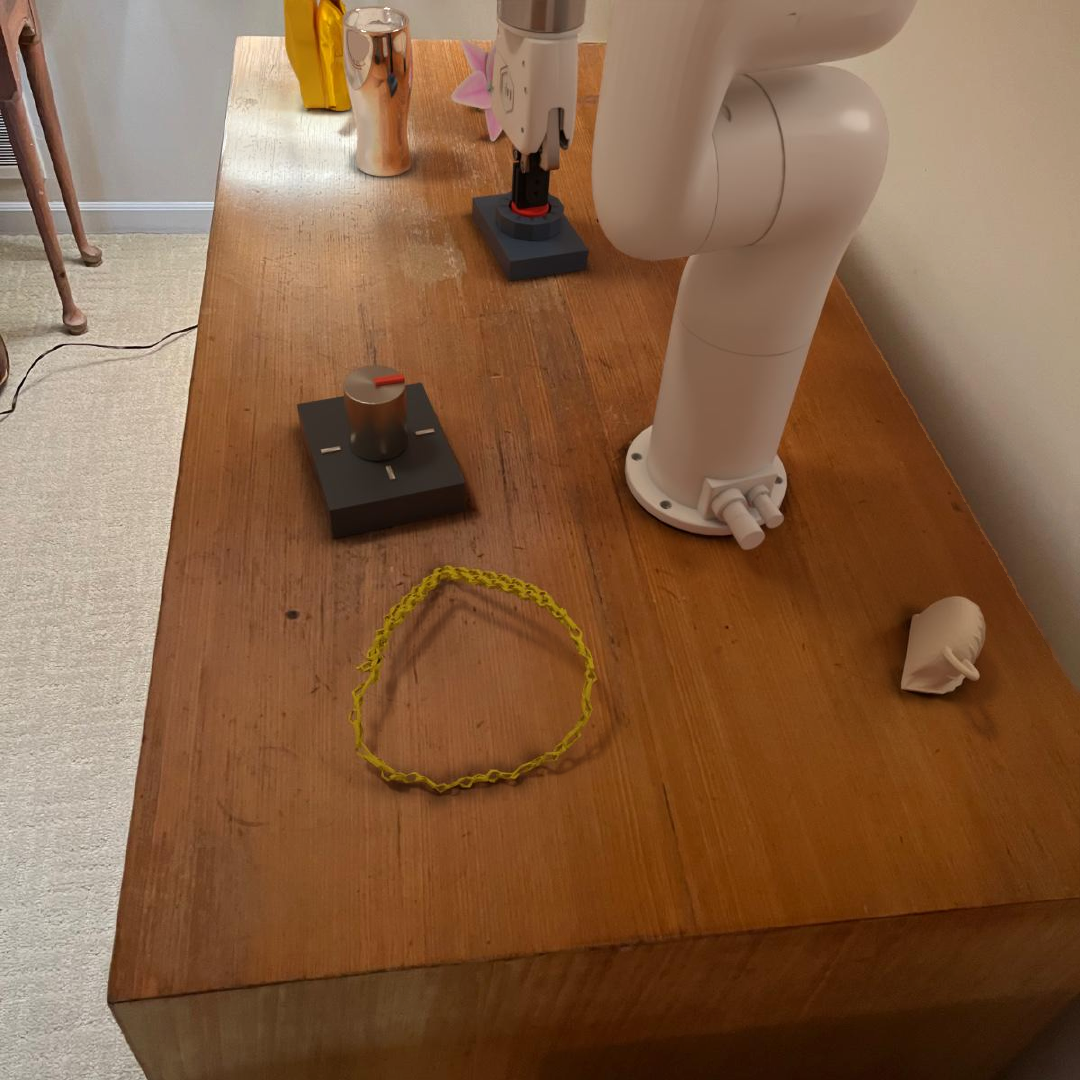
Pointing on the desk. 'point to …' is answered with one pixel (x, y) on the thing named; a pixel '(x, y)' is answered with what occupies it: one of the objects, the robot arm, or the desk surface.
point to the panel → (381, 469)
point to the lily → (479, 84)
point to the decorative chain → (411, 602)
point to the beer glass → (379, 86)
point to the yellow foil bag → (317, 51)
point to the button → (530, 211)
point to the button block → (529, 238)
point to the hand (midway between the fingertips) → (529, 203)
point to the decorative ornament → (943, 646)
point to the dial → (376, 412)
